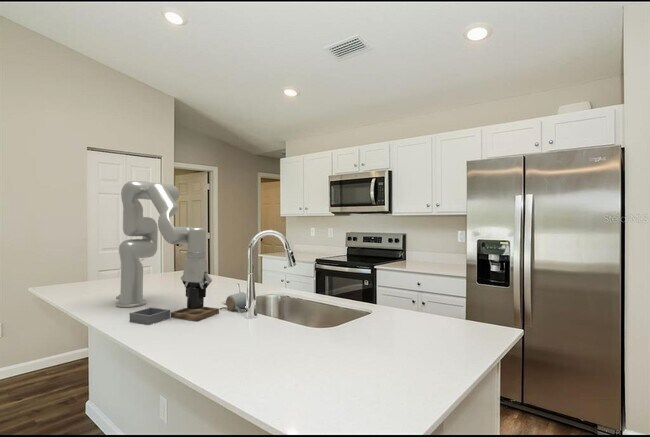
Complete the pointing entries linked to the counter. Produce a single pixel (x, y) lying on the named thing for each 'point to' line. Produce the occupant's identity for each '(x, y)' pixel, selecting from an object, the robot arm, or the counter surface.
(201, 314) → the walnut tray
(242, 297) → the ceramic mug
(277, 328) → the counter surface
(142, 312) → the gray open box
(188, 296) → the supplement bottle
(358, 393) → the counter surface
